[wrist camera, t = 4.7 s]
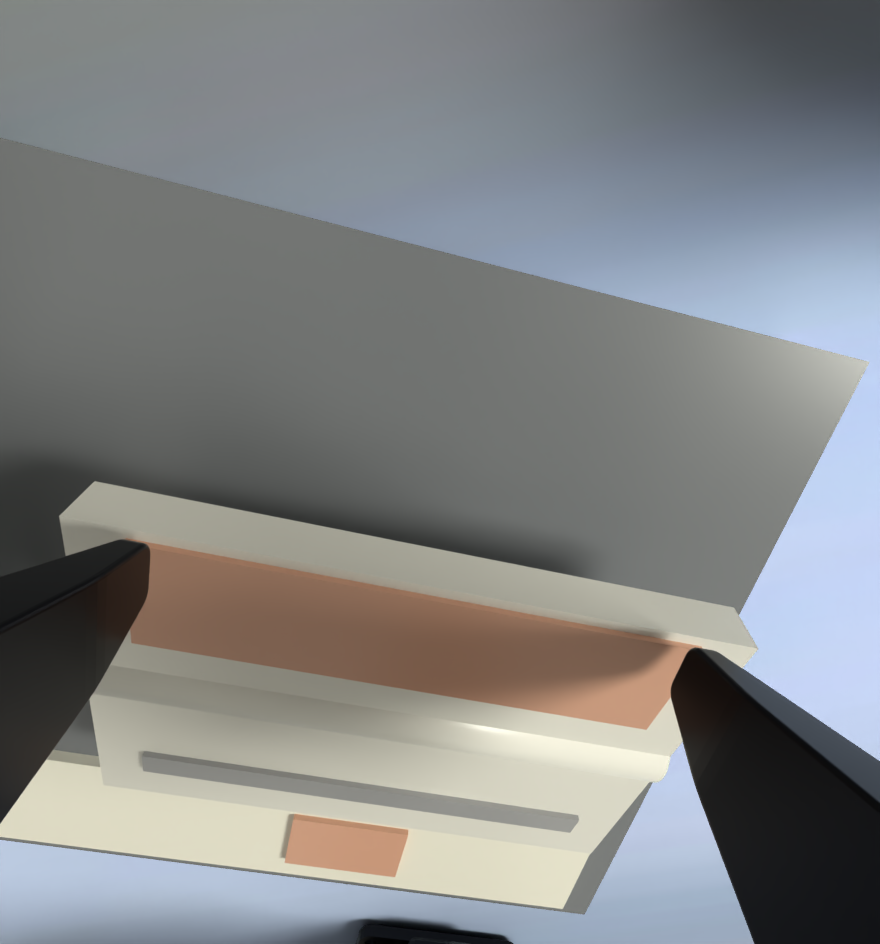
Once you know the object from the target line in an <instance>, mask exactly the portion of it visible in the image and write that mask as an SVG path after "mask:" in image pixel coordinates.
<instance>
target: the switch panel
mask: <svg viewBox="0 0 880 944" xmlns="http://www.w3.org/2000/svg"><path fill="white" fill-rule="evenodd" d="M868 364H869V362H867V361H864V360H860V359H856V358H852V357H848V356H844V355H840V354H836V353H833V352H829V351H825V350H821V349H817V348H813V347H809V346H805V345H801V344H798V343H794V342H790V341H786V340H782V339H778V338H774V337H770V336H767V335H763V334H759V333H755V332H751V331H747V330H743V329H739V328H736V327H732V326H728V325H724V324H720V323H716V322H712V321H708V320H705V319H701V318H697V317H693V316H689V315H685V314H681V313H677V312H674V311H670V310H666V309H662V308H658V307H654V306H650V305H646V304H642V303H639V302H635V301H631V300H627V299H623V298H619V297H615V296H611V295H608V294H604V293H600V292H596V291H592V290H588V289H584V288H580V287H577V286H573V285H569V284H565V283H561V282H557V281H553V280H549V279H546V278H542V277H538V276H534V275H530V274H526V273H522V272H518V271H515V270H511V269H507V268H503V267H499V266H495V265H491V264H487V263H483V262H480V261H476V260H472V259H468V258H464V257H460V256H456V255H452V254H449V253H445V252H441V251H437V250H433V249H429V248H425V247H421V246H418V245H414V244H410V243H406V242H402V241H398V240H394V239H390V238H387V237H383V236H379V235H375V234H371V233H367V232H363V231H359V230H356V229H352V228H348V227H344V226H340V225H336V224H332V223H328V222H324V221H321V220H317V219H313V218H309V217H305V216H301V215H297V214H293V213H290V212H286V211H282V210H278V209H274V208H270V207H266V206H262V205H259V204H255V203H251V202H247V201H243V200H239V199H235V198H231V197H228V196H224V195H220V194H216V193H212V192H208V191H204V190H200V189H197V188H193V187H189V186H185V185H181V184H177V183H173V182H169V181H165V180H162V179H158V178H154V177H150V176H146V175H142V174H138V173H134V172H131V171H127V170H123V169H119V168H115V167H111V166H107V165H103V164H100V163H96V162H92V161H88V160H84V159H80V158H76V157H72V156H69V155H65V154H61V153H57V152H53V151H49V150H45V149H41V148H38V147H34V146H30V145H26V144H22V143H18V142H14V141H10V140H6V139H3V138H0V577H1V576H4V575H7V574H10V573H13V572H17V571H20V570H23V569H26V568H29V567H32V566H36V565H39V564H42V563H45V562H48V561H52V560H55V559H58V558H61V557H64V556H66V555H65V549H64V542H63V536H62V530H61V524H60V518H59V516H60V515H61V514H62V513H63V512H64V511H65V510H66V509H67V508H68V507H69V506H70V505H71V504H72V503H73V502H74V501H75V500H76V499H77V498H78V497H79V496H80V495H81V494H82V493H83V492H84V491H85V490H86V489H87V488H88V487H89V486H90V485H91V484H92V483H93V482H94V481H96V482H102V483H107V484H112V485H117V486H122V487H127V488H132V489H137V490H142V491H147V492H152V493H157V494H162V495H167V496H172V497H177V498H182V499H187V500H193V501H198V502H203V503H208V504H213V505H218V506H223V507H228V508H233V509H238V510H243V511H248V512H253V513H258V514H263V515H268V516H273V517H278V518H284V519H289V520H294V521H299V522H304V523H309V524H314V525H319V526H324V527H329V528H334V529H339V530H344V531H349V532H354V533H359V534H364V535H369V536H375V537H380V538H385V539H390V540H395V541H400V542H405V543H410V544H415V545H420V546H425V547H430V548H435V549H440V550H445V551H450V552H455V553H460V554H466V555H471V556H476V557H481V558H486V559H491V560H496V561H501V562H506V563H511V564H516V565H521V566H526V567H531V568H536V569H541V570H546V571H552V572H557V573H562V574H567V575H572V576H577V577H582V578H587V579H592V580H597V581H602V582H607V583H612V584H617V585H622V586H627V587H632V588H637V589H643V590H648V591H653V592H658V593H663V594H668V595H673V596H678V597H683V598H688V599H693V600H698V601H703V602H708V603H713V604H718V605H723V606H728V607H734V608H735V610H736V612H737V614H738V615H739V614H740V612H741V610H742V608H743V606H744V604H745V602H746V600H747V598H748V597H749V595H750V593H751V591H752V589H753V587H754V585H755V583H756V581H757V579H758V577H759V575H760V573H761V571H762V569H763V567H764V566H765V564H766V562H767V560H768V558H769V556H770V554H771V552H772V550H773V548H774V546H775V544H776V542H777V540H778V538H779V536H780V535H781V533H782V531H783V529H784V527H785V525H786V523H787V521H788V519H789V517H790V515H791V513H792V511H793V509H794V507H795V505H796V504H797V502H798V500H799V498H800V496H801V494H802V492H803V490H804V488H805V486H806V484H807V482H808V480H809V478H810V476H811V474H812V473H813V471H814V469H815V467H816V465H817V463H818V461H819V459H820V457H821V455H822V453H823V451H824V449H825V447H826V445H827V443H828V442H829V440H830V438H831V436H832V434H833V432H834V430H835V428H836V426H837V424H838V422H839V420H840V418H841V416H842V414H843V412H844V411H845V409H846V407H847V405H848V403H849V401H850V399H851V397H852V395H853V393H854V391H855V389H856V387H857V385H858V383H859V381H860V380H861V378H862V376H863V374H864V372H865V370H866V368H867V366H868ZM652 783H653V782H649V783H648V784H647V786H646V787H645V788H644V789H643V791H642V792H641V793H640V794H639V796H638V797H637V798H636V799H635V800H634V802H633V803H632V804H631V805H630V807H629V808H628V809H627V810H626V811H625V813H624V814H623V815H622V816H621V818H620V819H619V820H618V821H617V822H616V824H615V825H614V826H613V827H612V829H611V830H610V831H609V832H608V833H607V835H606V836H605V837H604V838H603V840H602V841H601V842H600V843H599V845H598V846H597V847H596V848H595V849H594V851H593V852H592V853H591V854H589V853H582V852H575V851H568V850H561V849H553V848H546V847H539V846H532V845H525V844H518V843H511V842H504V841H497V840H489V839H482V838H475V837H468V836H461V835H454V834H447V833H440V832H433V831H426V830H418V829H411V828H404V827H397V826H390V825H383V824H376V823H369V822H362V821H354V820H347V819H340V818H333V817H326V816H319V815H312V814H305V813H298V812H291V811H283V810H276V809H269V808H262V807H255V806H248V805H241V804H234V803H227V802H219V801H212V800H205V799H198V798H191V797H184V796H177V795H170V794H163V793H156V792H148V791H141V790H134V789H127V788H120V787H113V786H106V785H103V779H102V773H101V767H100V761H99V755H98V749H97V743H96V737H95V731H94V725H93V719H92V713H91V707H90V700H88V702H87V703H86V705H85V706H84V708H83V709H82V710H81V712H80V713H79V715H78V716H77V717H76V719H75V720H74V722H73V723H72V724H71V726H70V727H69V729H68V730H67V731H66V733H65V734H64V736H63V737H62V738H61V740H60V741H59V743H58V744H57V745H56V747H55V748H54V750H53V751H52V752H51V754H50V755H49V757H48V758H47V759H46V761H45V762H44V764H43V765H42V766H41V768H40V769H39V771H38V772H37V773H36V775H35V776H34V778H33V779H32V780H31V782H30V783H29V784H28V786H27V787H26V789H25V790H24V791H23V793H22V794H21V796H20V797H19V798H18V800H17V801H16V803H15V804H14V805H13V807H12V808H11V810H10V811H9V812H8V814H7V815H6V817H5V818H4V819H3V821H2V822H1V824H0V840H7V841H15V842H23V843H31V844H38V845H46V846H54V847H62V848H70V849H77V850H85V851H93V852H101V853H109V854H116V855H124V856H132V857H140V858H148V859H156V860H163V861H171V862H179V863H187V864H195V865H202V866H210V867H218V868H226V869H234V870H241V871H249V872H257V873H265V874H273V875H281V876H288V877H296V878H304V879H312V880H320V881H327V882H335V883H343V884H351V885H359V886H367V887H374V888H382V889H390V890H398V891H406V892H413V893H421V894H429V895H437V896H445V897H452V898H460V899H468V900H476V901H484V902H492V903H499V904H507V905H515V906H523V907H531V908H538V909H546V910H554V911H562V912H570V913H577V914H585V912H586V910H587V908H588V907H589V905H590V903H591V901H592V899H593V897H594V895H595V893H596V891H597V889H598V887H599V885H600V883H601V881H602V879H603V877H604V876H605V874H606V872H607V870H608V868H609V866H610V864H611V862H612V860H613V858H614V856H615V854H616V852H617V850H618V848H619V846H620V845H621V843H622V841H623V839H624V837H625V835H626V833H627V831H628V829H629V827H630V825H631V823H632V821H633V819H634V817H635V815H636V814H637V812H638V810H639V808H640V806H641V804H642V802H643V800H644V798H645V796H646V794H647V792H648V790H649V788H650V786H651V784H652Z"/></svg>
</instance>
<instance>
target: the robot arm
mask: <svg viewBox="0 0 880 944" xmlns="http://www.w3.org/2000/svg"><path fill="white" fill-rule="evenodd" d="M149 573H150V548H149V546H148V545H147V544H145V543H141V542H136V541H131V540H125V539H119V540H115V541H112V542H109V543H106V544H103V545H99V546H96V547H93V548H90V549H87V550H84V551H80V552H77V553H74V554H71V555H68V556H64V557H61V558H58V559H55V560H52V561H48V562H45V563H42V564H39V565H36V566H32V567H29V568H26V569H23V570H20V571H17V572H13V573H10V574H7V575H4V576H1V577H0V824H1V822H2V821H3V819H4V818H5V817H6V815H7V814H8V812H9V811H10V810H11V808H12V807H13V805H14V804H15V803H16V801H17V800H18V798H19V797H20V796H21V794H22V793H23V791H24V790H25V789H26V787H27V786H28V784H29V783H30V782H31V780H32V779H33V778H34V776H35V775H36V773H37V772H38V771H39V769H40V768H41V766H42V765H43V764H44V762H45V761H46V759H47V758H48V757H49V755H50V754H51V752H52V751H53V750H54V748H55V747H56V745H57V744H58V743H59V741H60V740H61V738H62V737H63V736H64V734H65V733H66V731H67V730H68V729H69V727H70V726H71V724H72V723H73V722H74V720H75V719H76V717H77V716H78V715H79V713H80V712H81V710H82V709H83V708H84V706H85V705H86V703H87V702H88V700H89V699H90V697H91V696H92V694H93V693H94V692H95V690H96V688H97V687H98V685H99V683H100V682H101V680H102V678H103V677H104V675H105V673H106V671H107V670H108V668H109V666H110V664H111V662H112V661H113V659H114V657H115V655H116V653H117V652H118V650H119V648H120V646H121V645H122V643H123V641H124V639H125V637H126V636H127V634H128V632H129V630H130V628H131V627H132V625H133V623H134V621H135V620H136V618H137V616H138V614H139V612H140V611H141V609H142V607H143V605H144V603H145V601H146V598H147V595H148V589H149ZM670 693H671V701H672V704H673V708H674V711H675V715H676V719H677V722H678V726H679V730H680V733H681V737H682V741H683V744H684V748H685V752H686V755H687V759H688V763H689V766H690V770H691V773H692V777H693V780H694V783H695V786H696V789H697V792H698V795H699V798H700V801H701V803H702V806H703V809H704V811H705V814H706V817H707V819H708V822H709V825H710V827H711V830H712V833H713V835H714V838H715V840H716V843H717V846H718V848H719V851H720V854H721V856H722V859H723V862H724V864H725V867H726V870H727V872H728V875H729V878H730V880H731V883H732V886H733V888H734V891H735V894H736V896H737V899H738V901H739V904H740V907H741V909H742V912H743V915H744V917H745V920H746V923H747V925H748V928H749V931H750V933H751V936H752V939H753V941H754V944H880V761H879V760H877V759H876V758H874V757H873V756H871V755H870V754H868V753H867V752H865V751H864V750H862V749H861V748H859V747H858V746H856V745H855V744H853V743H852V742H850V741H849V740H847V739H846V738H845V737H843V736H842V735H840V734H839V733H837V732H836V731H834V730H833V729H831V728H830V727H828V726H827V725H825V724H824V723H822V722H821V721H819V720H818V719H816V718H815V717H813V716H812V715H811V714H809V713H808V712H806V711H805V710H803V709H802V708H800V707H799V706H797V705H796V704H794V703H793V702H791V701H790V700H788V699H787V698H785V697H784V696H782V695H781V694H779V693H778V692H776V691H775V690H774V689H772V688H771V687H769V686H768V685H766V684H765V683H763V682H762V681H760V680H759V679H757V678H756V677H754V676H753V675H751V674H750V673H748V672H747V671H745V670H744V669H742V668H741V667H740V666H738V665H737V664H735V663H734V662H732V661H731V660H729V659H728V658H726V657H725V656H723V655H722V654H720V653H719V652H717V651H714V650H709V649H703V648H697V647H694V648H692V649H690V650H689V651H688V652H687V654H686V655H685V658H684V660H683V662H682V664H681V666H680V668H679V670H678V672H677V674H676V676H675V678H674V680H673V682H672V685H671V692H670ZM356 944H513V943H512V942H509V941H504V940H496V939H487V938H479V937H471V936H462V935H454V934H446V933H438V932H429V931H421V930H413V929H404V928H396V927H388V926H380V925H367V926H364V927H362V928H361V929H360V931H359V934H358V938H357V941H356Z"/></svg>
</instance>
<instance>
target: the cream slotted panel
mask: <svg viewBox="0 0 880 944" xmlns="http://www.w3.org/2000/svg"><path fill="white" fill-rule="evenodd" d="M59 518H60V524H61V530H62V536H63V542H64V549H65V555H66V556H68V555H71V554H74V553H77V552H80V551H84V550H87V549H90V548H93V547H96V546H99V545H103V544H106V543H109V542H112V541H115V540H119V539H125V540H131V541H136V542H141V543H145V544H147V545H148V546H149V548H150V573H149V589H148V595H147V598H146V601H145V603H144V605H143V607H142V609H141V611H140V612H139V614H138V616H137V618H136V620H135V621H134V623H133V625H132V627H131V628H130V630H129V632H128V634H127V636H126V637H125V639H124V641H123V643H122V645H121V646H120V648H119V650H118V652H117V653H116V655H115V657H114V659H113V661H112V662H111V664H110V666H109V668H108V670H107V671H106V673H105V675H104V677H103V678H102V680H101V682H100V683H99V685H98V687H97V688H96V690H95V692H94V693H93V694H92V696H91V697H90V699H89V700H90V707H91V713H92V719H93V725H94V731H95V737H96V743H97V749H98V755H99V761H100V767H101V773H102V779H103V785H106V786H113V787H120V788H127V789H134V790H141V791H148V792H156V793H163V794H170V795H177V796H184V797H191V798H198V799H205V800H212V801H219V802H227V803H234V804H241V805H248V806H255V807H262V808H269V809H276V810H283V811H291V812H298V813H305V814H312V815H319V816H326V817H333V818H340V819H347V820H354V821H362V822H369V823H376V824H383V825H390V826H397V827H404V828H411V829H418V830H426V831H433V832H440V833H447V834H454V835H461V836H468V837H475V838H482V839H489V840H497V841H504V842H511V843H518V844H525V845H532V846H539V847H546V848H553V849H561V850H568V851H575V852H582V853H589V854H591V853H592V852H593V851H594V849H595V848H596V847H597V846H598V845H599V843H600V842H601V841H602V840H603V838H604V837H605V836H606V835H607V833H608V832H609V831H610V830H611V829H612V827H613V826H614V825H615V824H616V822H617V821H618V820H619V819H620V818H621V816H622V815H623V814H624V813H625V811H626V810H627V809H628V808H629V807H630V805H631V804H632V803H633V802H634V800H635V799H636V798H637V797H638V796H639V794H640V793H641V792H642V791H643V789H644V788H645V787H646V786H647V784H648V783H649V782H654V783H656V782H659V781H661V780H662V779H663V778H664V776H665V775H666V773H667V770H668V767H669V762H670V756H671V755H672V754H673V753H674V751H675V750H676V749H677V748H678V746H679V745H680V744H681V743H682V742H683V741H682V737H681V733H680V730H679V726H678V722H677V719H676V715H675V711H674V708H673V704H672V701H671V693H670V692H671V685H672V682H673V680H674V678H675V676H676V674H677V672H678V670H679V668H680V666H681V664H682V662H683V660H684V658H685V655H686V654H687V652H688V651H689V650H690V649H692V648H694V647H697V648H703V649H709V650H714V651H717V652H719V653H720V654H722V655H723V656H725V657H726V658H728V659H729V660H731V661H732V662H734V663H735V664H737V665H738V666H740V667H741V668H743V667H744V666H745V664H746V663H747V662H748V661H749V659H750V658H751V657H752V656H753V655H754V653H755V652H756V651H757V650H758V647H757V646H756V644H755V642H754V641H753V639H752V637H751V636H750V634H749V632H748V630H747V629H746V627H745V625H744V624H743V622H742V620H741V619H740V617H739V615H738V614H737V612H736V610H735V608H734V607H728V606H723V605H718V604H713V603H708V602H703V601H698V600H693V599H688V598H683V597H678V596H673V595H668V594H663V593H658V592H653V591H648V590H643V589H637V588H632V587H627V586H622V585H617V584H612V583H607V582H602V581H597V580H592V579H587V578H582V577H577V576H572V575H567V574H562V573H557V572H552V571H546V570H541V569H536V568H531V567H526V566H521V565H516V564H511V563H506V562H501V561H496V560H491V559H486V558H481V557H476V556H471V555H466V554H460V553H455V552H450V551H445V550H440V549H435V548H430V547H425V546H420V545H415V544H410V543H405V542H400V541H395V540H390V539H385V538H380V537H375V536H369V535H364V534H359V533H354V532H349V531H344V530H339V529H334V528H329V527H324V526H319V525H314V524H309V523H304V522H299V521H294V520H289V519H284V518H278V517H273V516H268V515H263V514H258V513H253V512H248V511H243V510H238V509H233V508H228V507H223V506H218V505H213V504H208V503H203V502H198V501H193V500H187V499H182V498H177V497H172V496H167V495H162V494H157V493H152V492H147V491H142V490H137V489H132V488H127V487H122V486H117V485H112V484H107V483H102V482H96V481H94V482H93V483H92V484H91V485H90V486H89V487H88V488H87V489H86V490H85V491H84V492H83V493H82V494H81V495H80V496H79V497H78V498H77V499H76V500H75V501H74V502H73V503H72V504H71V505H70V506H69V507H68V508H67V509H66V510H65V511H64V512H63V513H62V514H61V515H60V516H59Z"/></svg>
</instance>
